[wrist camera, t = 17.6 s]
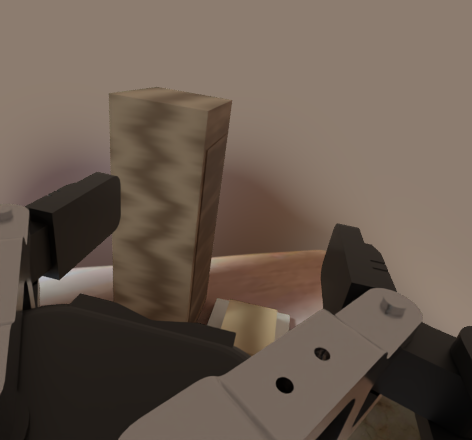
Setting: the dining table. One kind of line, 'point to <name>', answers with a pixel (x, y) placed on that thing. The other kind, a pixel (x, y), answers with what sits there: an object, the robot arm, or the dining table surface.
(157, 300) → the zigzag patterned tall block
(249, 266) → the dining table surface
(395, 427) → the marble piece
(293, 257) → the dining table surface
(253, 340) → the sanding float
